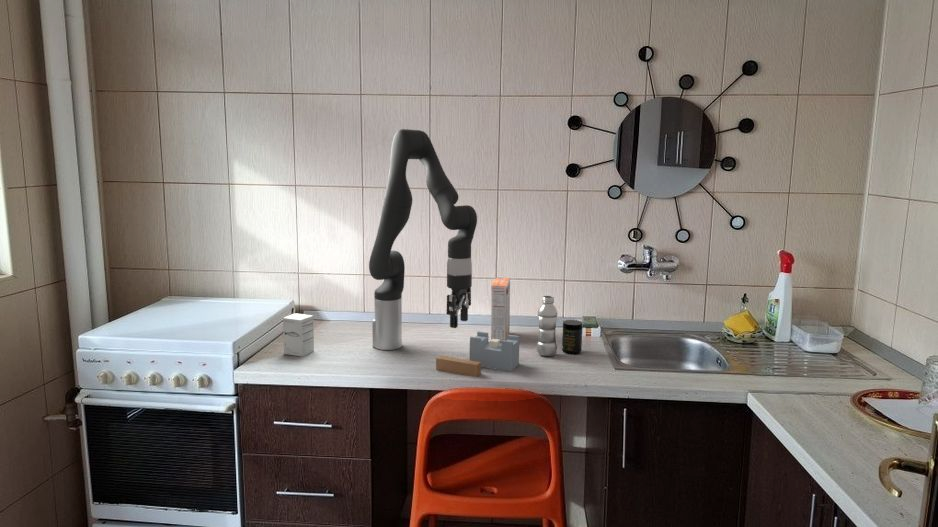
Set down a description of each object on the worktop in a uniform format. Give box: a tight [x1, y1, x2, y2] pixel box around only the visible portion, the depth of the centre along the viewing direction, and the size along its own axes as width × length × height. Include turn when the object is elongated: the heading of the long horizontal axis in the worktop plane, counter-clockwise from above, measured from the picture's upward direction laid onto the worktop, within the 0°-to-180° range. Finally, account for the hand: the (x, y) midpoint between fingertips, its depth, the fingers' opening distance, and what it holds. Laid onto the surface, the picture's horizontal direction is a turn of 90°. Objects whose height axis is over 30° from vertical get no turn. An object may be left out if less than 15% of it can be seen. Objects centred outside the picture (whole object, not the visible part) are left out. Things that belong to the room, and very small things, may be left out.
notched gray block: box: [468, 330, 520, 372], centre depth 219 cm, size 14×8×9 cm, turn 69°
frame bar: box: [435, 355, 482, 377], centre depth 212 cm, size 14×3×4 cm, turn 65°
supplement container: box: [561, 319, 584, 356], centre depth 233 cm, size 7×7×10 cm
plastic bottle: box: [536, 295, 558, 357], centre depth 228 cm, size 6×7×20 cm
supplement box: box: [282, 313, 315, 358], centre depth 228 cm, size 7×7×13 cm
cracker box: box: [490, 277, 511, 343], centre depth 248 cm, size 14×6×21 cm, turn 172°
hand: (459, 324), depth 210 cm, fingers open, 8 cm apart
